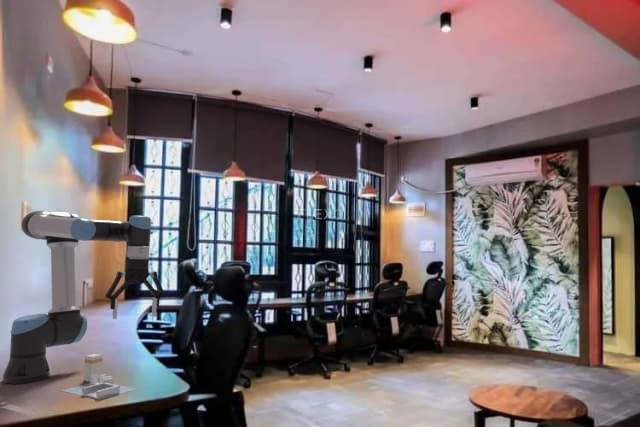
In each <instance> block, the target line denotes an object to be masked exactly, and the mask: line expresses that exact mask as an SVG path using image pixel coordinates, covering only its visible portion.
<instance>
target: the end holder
mask: <svg viewBox="0 0 640 427" xmlns="http://www.w3.org/2000/svg"><path fill="white" fill-rule="evenodd" d="M120 386H121V385H118V384H114V383H113V384H110V383H105V382H103V383H99V384H95V385H92V386H88V387H84V388H82V396H81V397H85V396H86V397H85V398H89V397H90V399H94V400H98V399H101V398H105V397H108V396H111V395H115V394H118V393H120ZM115 396H116V395H115ZM105 399H106V398H105Z"/></svg>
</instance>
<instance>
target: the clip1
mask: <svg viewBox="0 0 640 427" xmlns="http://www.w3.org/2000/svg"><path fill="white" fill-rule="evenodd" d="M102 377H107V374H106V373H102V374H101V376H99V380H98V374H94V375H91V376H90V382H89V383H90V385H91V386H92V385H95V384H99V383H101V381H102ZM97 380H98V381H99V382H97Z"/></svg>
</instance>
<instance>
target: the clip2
mask: <svg viewBox="0 0 640 427" xmlns="http://www.w3.org/2000/svg"><path fill="white" fill-rule="evenodd" d="M113 379H114V378H113V377H112V376H111V375H109V376H108V375H106V377H102V381H101V383H103V382H105V383H110V384H114V383H113V382H114V380H113Z"/></svg>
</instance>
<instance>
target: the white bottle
mask: <svg viewBox="0 0 640 427" xmlns="http://www.w3.org/2000/svg"><path fill="white" fill-rule="evenodd" d="M102 367H103V355H102V354H98V353H93V354H89V355H85V356H84V374H83V381H84V382H89V383H90V376H91V375H94V374H98V380H97V381H99V376H101V375H102Z"/></svg>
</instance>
